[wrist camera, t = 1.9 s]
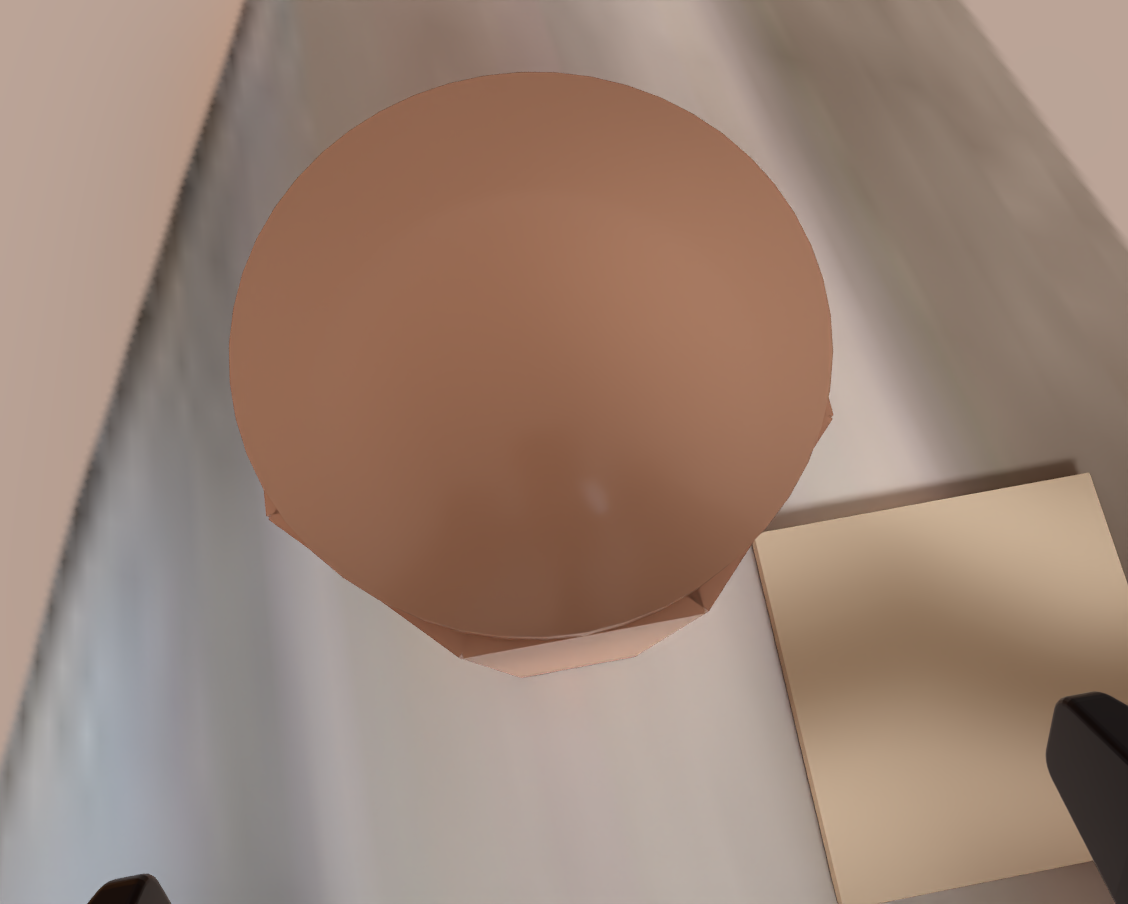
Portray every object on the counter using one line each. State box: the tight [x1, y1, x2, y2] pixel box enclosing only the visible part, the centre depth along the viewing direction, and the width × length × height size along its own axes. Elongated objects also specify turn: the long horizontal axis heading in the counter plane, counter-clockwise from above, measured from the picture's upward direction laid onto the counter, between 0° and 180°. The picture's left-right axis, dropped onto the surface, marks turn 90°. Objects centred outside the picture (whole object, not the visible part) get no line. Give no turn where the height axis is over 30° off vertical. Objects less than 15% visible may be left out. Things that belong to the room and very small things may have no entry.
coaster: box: [752, 473, 1128, 904], centre depth 20 cm, size 8×8×1 cm
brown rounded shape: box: [229, 72, 833, 678], centre depth 15 cm, size 6×6×12 cm
